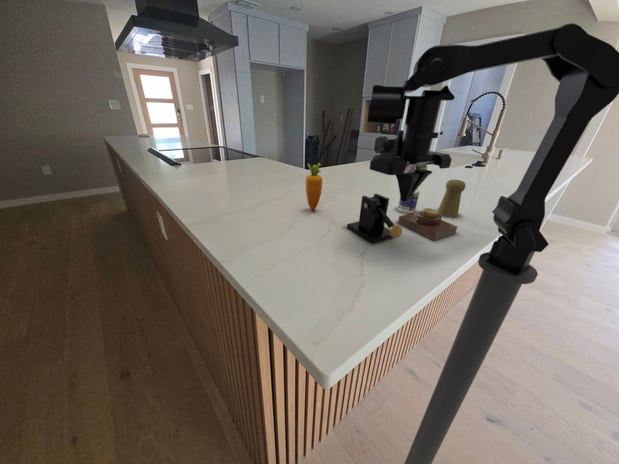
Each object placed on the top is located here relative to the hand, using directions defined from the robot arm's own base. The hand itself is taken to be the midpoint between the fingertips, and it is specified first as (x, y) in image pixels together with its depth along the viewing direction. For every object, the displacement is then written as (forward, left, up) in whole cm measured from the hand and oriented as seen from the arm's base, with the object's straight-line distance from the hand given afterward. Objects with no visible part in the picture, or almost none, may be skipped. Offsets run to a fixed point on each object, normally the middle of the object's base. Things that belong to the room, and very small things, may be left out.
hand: (403, 201), depth 57 cm
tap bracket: (+8, +1, -11) cm, 14 cm away
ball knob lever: (+5, +1, -7) cm, 8 cm away
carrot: (+28, +7, -11) cm, 31 cm away
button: (+3, -15, -8) cm, 17 cm away
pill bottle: (+15, -21, -11) cm, 28 cm away
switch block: (+3, -15, -11) cm, 19 cm away
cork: (+7, -31, -11) cm, 34 cm away
